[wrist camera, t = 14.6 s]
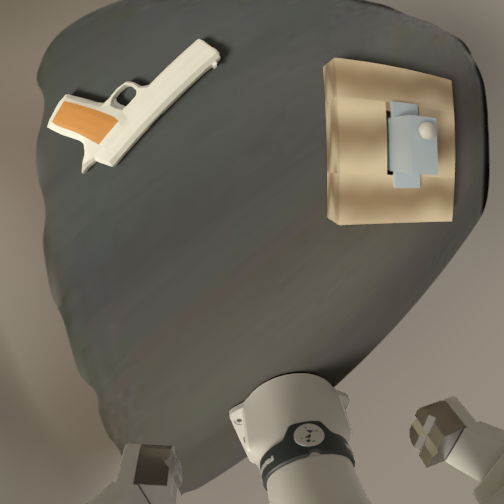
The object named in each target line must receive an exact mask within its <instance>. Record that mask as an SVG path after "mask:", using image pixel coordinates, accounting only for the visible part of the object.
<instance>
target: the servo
mask: <svg viewBox="0 0 504 504" xmlns="http://www.w3.org/2000/svg"><path fill="white" fill-rule="evenodd" d="M386 123H387V171H393V188H420V175H438V151H437V126H436V118H431V117H424V116H418V107H417V104H410V103H403V102H394V101H391V102H390V112H387V113H386Z"/></svg>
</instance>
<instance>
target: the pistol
mask: <svg viewBox="0 0 504 504" xmlns="http://www.w3.org/2000/svg"><path fill="white" fill-rule="evenodd" d="M219 54H220V53H219V52H218V51H217V50H216V49H215V48H214V47H211V46H210V45H208V44H207V43H206V42H205V41H203V40H200V39H198V40H196V41H195V42H194V43H193V44H192V45H191V46H190V47H188V48H187V49H186V50H185V51H184V52H183V53H182V54H181V55H179V56H178V57H177V58H176V59H175V60H174V61H173V62H172V63H171V64H170V65H169V66H168V67H167V68H166V69H165V70H164V71H163V72H161V73H160V74H159V75H158V76H157V77H156V78H155V79H154V80H153V81H152V82H151V83H150V84H149V85H145V86H140V85H138V84H136V83H135V82H130V81H127V82H125V83H124V84H122V85H121V86H120V87H118V88H117V89H116V90H115V92H114V93H113V94H112V95H111V96H110V98H109V99H108V100H106V101H105V102H104V103H102V102H95V101H92V100H89V99H85V98H81V97H77V96H73V95H69V94H66V95H65V96H64V97H63V98H62V99H61V100H60V102H59V103H58V105H57V107H56V109H55V111H54V112H53V114H52V116H51V118H50V120H49V123H48V126H47V127H48V128H50V129H52V130H53V131H55V132H57V133H59V134H62V135H65V136H68V137H71V138H73V139H76V140H80V141H81V142H82V143H83V144H84V150H85V154H84V159H83V163H82V174H84V173H86V172H87V171H88V169H89V168H90V167H91V166H92V165H93V164H95V163H96V162H97V161H98V162H100V163H103V164H106V165H109V166H111V167H115V166H116V165H117V164H118V163H119V162H120V160H121V159H122V158H123V157H124V156H125V155H126V153H127V152H128V151H129V150H130V149H131V148H132V147H133V145H134V144H135V143H136V142H137V141H138V140H139V139H140V138H141V136H142V135H143V134H144V133H145V132H146V131H147V130H148V129H149V128H150V126H151V125H152V124H153V123H154V122H155V121H156V120H157V119H158V118H159V117H160V116H161V115H162V114H163V113H164V112H165V111H166V110H167V109H168V108H169V107H170V106H171V105H172V104H173V103H174V102H175V101H176V100H177V99H178V98H179V97H180V96H181V95H182V94H183V93H184V92H185V91H186V90H187V89H188V88H189V87H191V86H192V85H193V84H194V83H195V82H196V81H197V80H198V79H199V78H200V77H201V76H202V75H204V74H205V73H206V72H207V71H208V70H209V69H210V68H211V67H212V68H214V69H215V68H216V67H217V62H218V61H219V60H220V56H219ZM127 87H133V88H134V89H135V90H136V91H137V92H136V96H135V97H134V98H133V100H132V101H131V102H130V103H129V104H128V105H127V106H124V105H121V104H119V103H118V102H117V99H116V98H117V97H118V96H119V94H120V93H121V92H122V91H123V90H124V89H126V88H127Z"/></svg>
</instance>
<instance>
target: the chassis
mask: <svg viewBox="0 0 504 504" xmlns="http://www.w3.org/2000/svg"><path fill="white" fill-rule="evenodd" d="M323 72H324V88H325V107H326V132H327V218H329V219H330V220H332V221H333V222H335V223H337V224H338V225H352V224H377V223H406V222H441V221H452V214H453V201H454V182H455V123H454V105H453V92H452V82H451V80H448V79H445V78H441V77H437V76H433V75H429V74H425V73H421V72H417V71H412V70H408V69H403V68H398V67H393V66H388V65H382V64H377V63H370V62H364V61H357V60H350V59H341V58H334V59H332V60H331V61H330V62H328V63H327V64H326V65H325V66H323ZM391 101H394V102H403V103H410V104H417V107H418V116H424V117H431V118H436V126H437V151H438V175H420V188H393V173H387V123H386V113H387V112H390V102H391Z"/></svg>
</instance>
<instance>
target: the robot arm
mask: <svg viewBox="0 0 504 504" xmlns="http://www.w3.org/2000/svg"><path fill="white" fill-rule="evenodd" d="M348 403H349V399H348V395H347V394H345V393H343V392H340V391H337V390H335V389H334V388H333V387H332V385H331V384H330V383H329V382H328V381H326V380H325V379H323V378H322V377H319V376H316V375H313V374H306V373H295V374H287V375H283V376H279V377H276V378H274V379H271V380H269V381H267V382H265V383H263V384H262V385H260V386H259V387H258V388H256V389H255V390H254V391H253V392H252V393H251V394H250V396H249V397H248V398H247V399H246V400H245V401H244V402H243V403H241V404H239V405H237V406H235V407H233V408H232V409H231V410H230V411H229V415H230V419H231V421H232V423H233V426H234V428H235V430H236V432H237V434H238V437H239V439H240V441H241V443H242V445H243V447H244V450H245V452H246V454H247V456H248V458H249V460H250V462H252V463H255V464H257V466H258V468H259V470H260V476H261V480H262V483H263V485H264V488H265V489H266V490H267V491H268V496H269V503H270V504H372V503H371V501H370V500H369V498H368V496H367V494H366V493H365V491H364V489H363V487H362V484H361V482H360V480H359V478H358V476H357V474H356V471H355V469H354V467H355V460H354V458H353V452H352V450H351V448H350V446H349V445H348V441H349V439H350V436H351V435H352V428H351V426H350V423H349V420H348V417H347V414H346V412H345V410H346V408H347V405H348ZM415 416H416V418H417V419H416V420H415V421H414V422H413V423H412V425H411V428H410V439H411V442H412V444H413V446H414V447H416V448H418V449H420V454H419V456H420V458H421V459H422V461H423V463H424V464H425V466H426V467H430V466H432V465H435V464H437V463H440V462H442V461H445V460H446V462H447V463H449V464H451V465H452V466H454V467H455V468H457V469H459V470H461V471H462V472H464V473H466V474H468V475H469V476H471V477H473V478H475V479H476V480H478V481H480V483H479V485H478V486H477V487H476V488H475V489H474V492H473V494H474V496H475V498H476V499H477V501H478V504H504V430H502V429H499V428H497V427H494V426H491V425H489V424H486V423H483V422H476V421H475V419H474V418H473V417H472V416H471V415H470V413H469V412H468V411H467V410H466V408H465V407H464V406H463V405H462V404H461V403H460V401H459V400H458V399H457V398H456V397H450V398H447V399H445V400H442V401H439V402H436V403H433V404H430V405H427V406H425V407H422V408H420V409H419V410H417V412H416V415H415ZM181 485H182V469H181V464H180V461H179V459H177V458H176V450H175V448H174V446H163V445H147V444H133V443H127V444H126V446H125V447H124V451H123V456H122V460H121V464H120V468H119V473H118V477H117V481H116V482H111V483H110V484H109V485H108V486H107V487H106V488H104V489H103V490H102V491H101V492H100V493H99V494H97V495H96V496H95V497H94V498H93V499H91V500H90V501H89V502H88V503H87V504H181V494H180V491H179V489H178V488H179V487H180V486H181Z"/></svg>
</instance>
